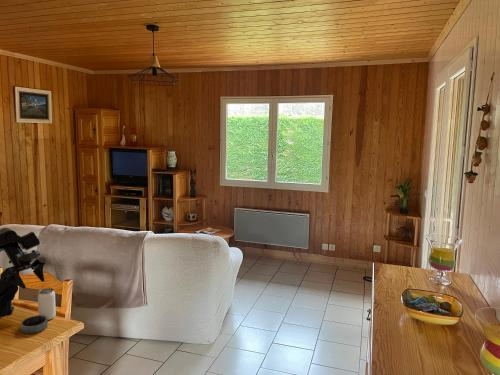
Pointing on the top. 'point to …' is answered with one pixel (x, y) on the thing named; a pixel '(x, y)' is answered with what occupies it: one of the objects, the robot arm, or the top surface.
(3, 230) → the robot arm
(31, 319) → the collar
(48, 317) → the can
